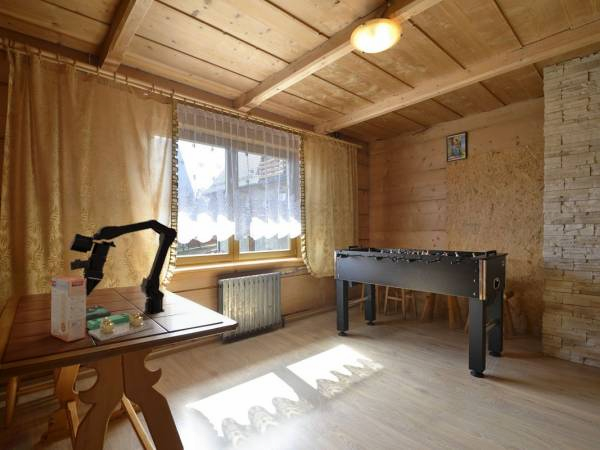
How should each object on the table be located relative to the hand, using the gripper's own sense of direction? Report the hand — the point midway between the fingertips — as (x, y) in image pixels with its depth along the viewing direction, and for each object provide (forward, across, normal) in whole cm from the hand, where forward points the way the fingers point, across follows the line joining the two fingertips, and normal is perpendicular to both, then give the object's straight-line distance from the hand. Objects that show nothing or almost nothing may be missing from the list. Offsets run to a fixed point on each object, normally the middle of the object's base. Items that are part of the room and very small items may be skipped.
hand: (86, 293), depth 122 cm
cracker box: (+14, +13, -2) cm, 19 cm away
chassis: (+9, +17, +14) cm, 24 cm away
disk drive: (+11, -14, +6) cm, 19 cm away
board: (+10, +6, +11) cm, 16 cm away
